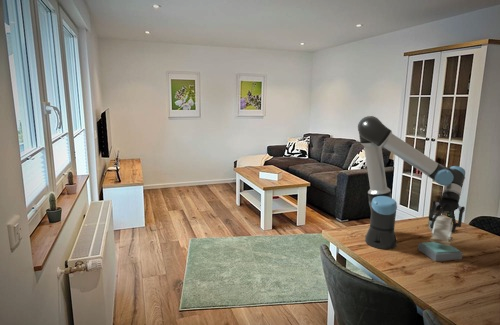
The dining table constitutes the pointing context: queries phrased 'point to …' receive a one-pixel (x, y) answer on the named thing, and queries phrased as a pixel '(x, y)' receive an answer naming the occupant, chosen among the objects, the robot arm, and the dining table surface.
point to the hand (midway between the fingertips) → (440, 236)
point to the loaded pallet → (442, 231)
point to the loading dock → (439, 251)
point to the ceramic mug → (430, 223)
